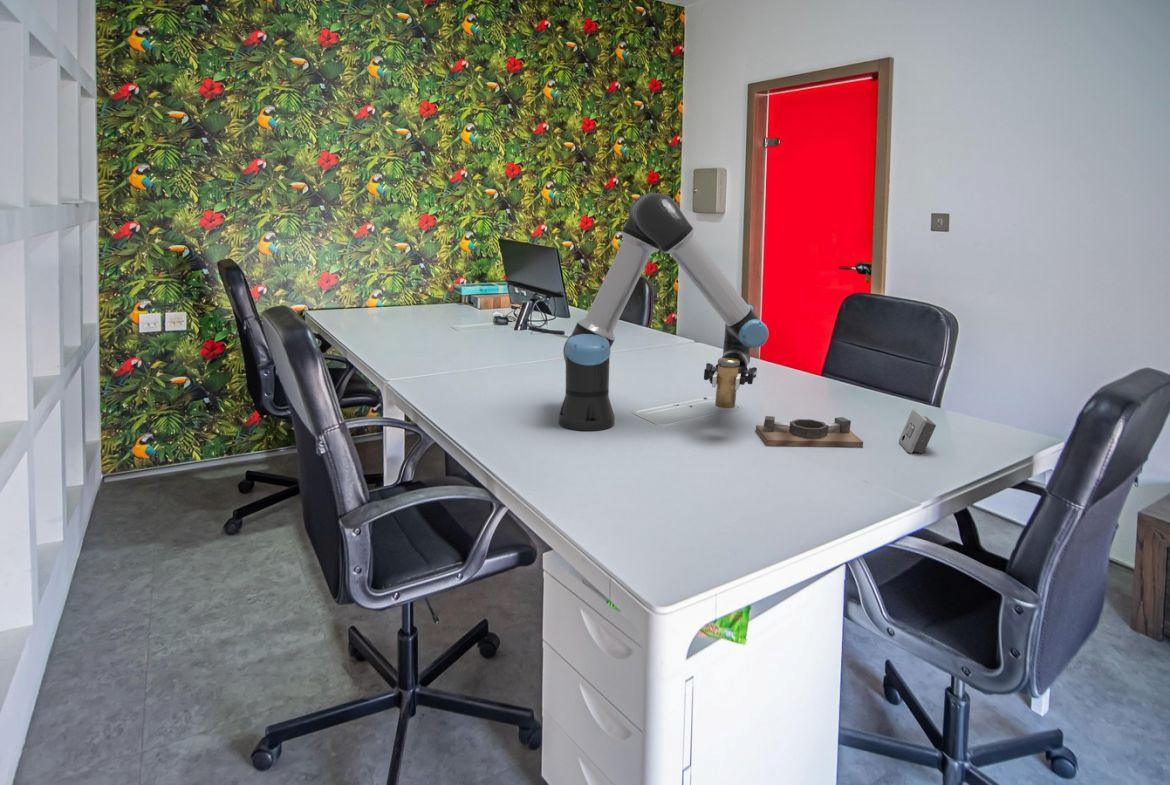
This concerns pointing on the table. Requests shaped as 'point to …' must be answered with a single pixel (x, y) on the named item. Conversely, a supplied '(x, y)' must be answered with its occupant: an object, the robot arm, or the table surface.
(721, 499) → the table surface
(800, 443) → the base
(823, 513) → the table surface
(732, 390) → the brass cylinder
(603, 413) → the robot arm
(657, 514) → the table surface
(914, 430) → the electrical switch
